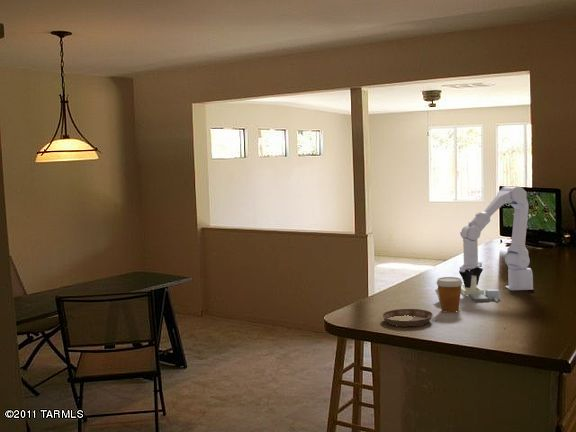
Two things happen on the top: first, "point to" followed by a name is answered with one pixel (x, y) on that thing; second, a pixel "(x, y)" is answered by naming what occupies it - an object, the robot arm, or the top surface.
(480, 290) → the outlet plate
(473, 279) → the charger
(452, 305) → the disposable coffee cup
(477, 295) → the phone
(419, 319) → the plant saucer
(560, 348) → the top surface
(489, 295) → the cable plug
